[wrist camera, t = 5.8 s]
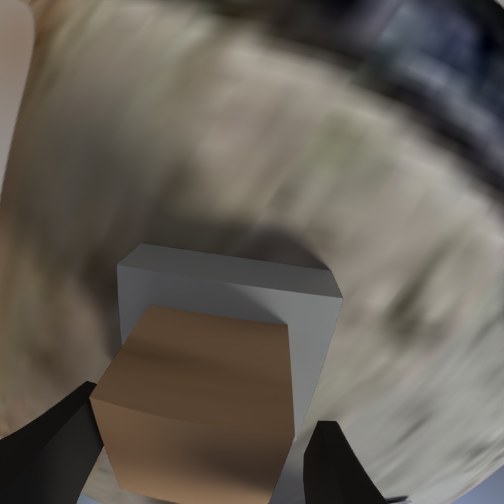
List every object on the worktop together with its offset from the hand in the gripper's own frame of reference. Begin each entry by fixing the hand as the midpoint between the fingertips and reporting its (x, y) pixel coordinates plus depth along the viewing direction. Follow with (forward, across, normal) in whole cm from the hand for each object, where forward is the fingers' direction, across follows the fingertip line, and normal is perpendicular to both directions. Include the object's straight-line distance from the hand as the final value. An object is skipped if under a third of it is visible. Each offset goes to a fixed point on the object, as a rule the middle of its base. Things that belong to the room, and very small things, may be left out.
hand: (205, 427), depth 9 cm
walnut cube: (+3, 0, 0) cm, 3 cm away
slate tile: (+6, 0, 0) cm, 6 cm away
